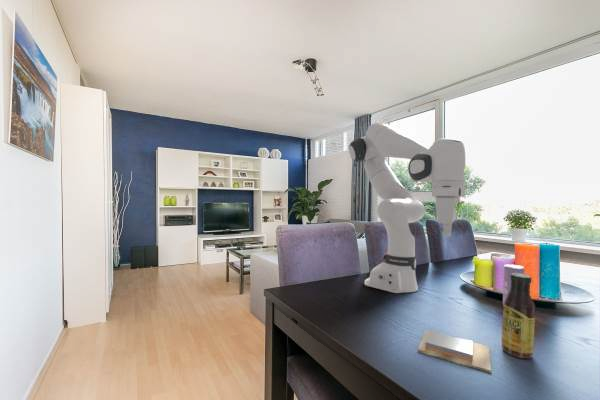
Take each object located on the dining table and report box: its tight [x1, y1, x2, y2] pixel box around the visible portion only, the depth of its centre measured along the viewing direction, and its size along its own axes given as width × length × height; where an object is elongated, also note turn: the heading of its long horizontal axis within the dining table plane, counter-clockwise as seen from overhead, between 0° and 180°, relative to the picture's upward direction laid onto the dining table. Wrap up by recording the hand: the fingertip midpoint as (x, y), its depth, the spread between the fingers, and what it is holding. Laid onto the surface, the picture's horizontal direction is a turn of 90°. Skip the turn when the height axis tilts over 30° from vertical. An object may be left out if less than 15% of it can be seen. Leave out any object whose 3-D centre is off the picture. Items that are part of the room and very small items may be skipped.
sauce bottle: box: [501, 273, 536, 360], centre depth 68 cm, size 6×6×20 cm
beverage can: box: [502, 263, 526, 306], centre depth 98 cm, size 6×6×15 cm
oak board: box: [417, 330, 492, 374], centre depth 69 cm, size 15×12×1 cm
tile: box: [426, 330, 474, 362], centre depth 69 cm, size 10×2×8 cm
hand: (447, 236), depth 83 cm, fingers closed
